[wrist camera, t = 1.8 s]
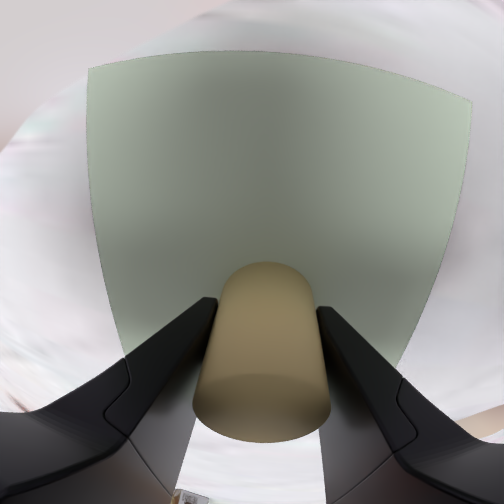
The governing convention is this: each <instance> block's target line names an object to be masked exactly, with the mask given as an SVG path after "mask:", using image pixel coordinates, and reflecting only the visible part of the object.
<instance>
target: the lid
mask: <svg viewBox="0 0 504 504" xmlns="http://www.w3.org/2000/svg"><path fill="white" fill-rule="evenodd" d="M471 115H472V102H471V101H469V100H467V99H465V98H462V97H460V96H458V95H455V94H453V93H450V92H448V91H445V90H443V89H440V88H438V87H435V86H432V85H430V84H427V83H424V82H421V81H418V80H415V79H412V78H409V77H405V76H402V75H399V74H395V73H392V72H388V71H384V70H381V69H377V68H373V67H368V66H364V65H360V64H355V63H350V62H345V61H340V60H334V59H328V58H321V57H314V56H307V55H298V54H289V53H277V52H260V51H205V52H188V53H176V54H166V55H158V56H150V57H144V58H137V59H131V60H126V61H120V62H115V63H111V64H106V65H102V66H97V67H93V68H89V70H88V84H87V115H86V126H87V158H88V174H89V185H90V196H91V204H92V213H93V220H94V227H95V233H96V240H97V246H98V251H99V257H100V262H101V267H102V272H103V276H104V281H105V285H106V290H107V294H108V298H109V302H110V306H111V310H112V314H113V317H114V321H115V324H116V328H117V331H118V335H119V338H120V341H121V345H122V348H123V351H124V354H125V356H126V355H127V354H128V353H130V352H131V351H132V350H134V349H135V348H136V347H138V346H139V345H140V344H142V343H143V342H144V341H146V340H147V339H148V338H150V337H151V336H152V335H154V334H155V333H156V332H158V331H159V330H160V329H161V328H163V327H164V326H165V325H167V324H168V323H169V322H171V321H172V320H173V319H175V318H176V317H177V316H179V315H180V314H181V313H183V312H184V311H185V310H187V309H188V308H189V307H190V306H192V305H193V304H194V303H196V302H197V301H198V300H200V299H201V298H202V297H213V298H217V300H218V308H217V311H216V315H215V318H214V322H213V326H212V329H211V333H210V337H209V340H208V344H207V348H206V351H205V355H204V359H203V363H202V366H201V370H200V374H199V378H198V381H197V385H196V389H195V393H194V397H193V401H192V407H193V411H194V413H195V415H196V416H197V418H198V419H199V420H200V421H201V422H202V423H203V424H204V425H205V426H207V427H208V428H210V429H211V430H213V431H215V432H217V433H219V434H221V435H224V436H226V437H229V438H233V439H236V440H241V441H246V442H255V443H275V442H283V441H289V440H293V439H297V438H300V437H303V436H305V435H308V434H310V433H312V432H313V431H315V430H317V429H318V428H319V427H321V426H322V425H323V424H324V423H325V422H326V420H327V419H328V417H329V415H330V413H331V402H330V395H329V388H328V381H327V375H326V368H325V362H324V356H323V350H322V344H321V338H320V332H319V326H318V321H317V315H316V309H317V307H318V306H331V307H332V308H334V309H335V310H336V311H337V312H338V313H339V314H340V315H341V316H342V317H343V318H344V319H345V320H346V321H347V322H348V323H349V324H350V325H351V326H352V327H353V328H354V329H355V330H356V331H357V332H358V333H359V334H360V335H361V336H363V337H364V338H365V339H366V340H367V341H368V342H369V343H370V344H371V345H372V346H373V347H374V348H375V349H376V350H377V351H378V352H379V353H380V354H381V355H382V356H383V357H384V358H385V359H386V360H387V361H388V362H389V363H390V364H391V365H392V366H393V367H394V368H396V366H397V364H398V362H399V360H400V358H401V356H402V354H403V352H404V350H405V349H406V347H407V344H408V342H409V340H410V338H411V336H412V334H413V332H414V330H415V328H416V326H417V323H418V321H419V319H420V317H421V314H422V312H423V310H424V307H425V305H426V302H427V300H428V297H429V295H430V292H431V290H432V287H433V285H434V282H435V279H436V276H437V274H438V271H439V268H440V265H441V262H442V259H443V256H444V253H445V250H446V246H447V243H448V240H449V236H450V233H451V229H452V226H453V222H454V218H455V214H456V210H457V206H458V202H459V197H460V192H461V188H462V183H463V177H464V172H465V166H466V160H467V153H468V145H469V137H470V127H471Z"/></svg>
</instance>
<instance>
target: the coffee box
mask: <svg viewBox="0 0 504 504" xmlns="http://www.w3.org/2000/svg"><path fill="white" fill-rule="evenodd" d="M170 504H208V498H207V497H203V496H200V495H197V494H194V493H191V492H188V491H185V490H182V489H178V490H174V493H173V496H172V500H171V503H170Z"/></svg>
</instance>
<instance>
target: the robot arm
mask: <svg viewBox="0 0 504 504" xmlns="http://www.w3.org/2000/svg"><path fill="white" fill-rule="evenodd" d="M217 308H218V300H217V298H213V297H202V298H201V299H200V300H198V301H197V302H196V303H194V304H193V305H192V306H190V307H189V308H188V309H187V310H185V311H184V312H183V313H181V314H180V315H179V316H177V317H176V318H175V319H173V320H172V321H171V322H169V323H168V324H167V325H165V326H164V327H163V328H161V329H160V330H159V331H158V332H156V333H155V334H154V335H152V336H151V337H150V338H148V339H147V340H146V341H144V342H143V343H142V344H140V345H139V346H138V347H136V348H135V349H134V350H132V351H131V352H130V353H128V354H127V355H126V356H125V358H122V359H120V360H119V361H118V362H116V363H115V364H114V365H112V366H111V367H109V368H108V369H106V370H105V371H104V372H102V373H101V374H99V375H98V376H96V377H95V378H93V379H91V380H90V381H88V382H87V383H85V384H83V385H82V386H80V387H78V388H77V389H75V390H73V391H71V392H70V393H68V394H66V395H65V396H63V397H61V398H59V399H58V400H56V401H54V402H52V403H51V404H49V405H47V406H45V407H43V408H41V409H38V410H35V411H31V412H25V413H13V412H0V504H170V503H171V500H172V496H173V493H174V489H175V486H176V483H177V480H178V476H179V473H180V470H181V466H182V463H183V460H184V456H185V453H186V450H187V447H188V443H189V440H190V437H191V433H192V430H193V427H194V424H195V420H196V417H197V416H196V415H195V413H194V411H193V407H192V401H193V397H194V393H195V389H196V385H197V381H198V378H199V374H200V370H201V366H202V363H203V359H204V355H205V351H206V348H207V344H208V340H209V337H210V333H211V329H212V326H213V322H214V318H215V315H216V311H217ZM316 315H317V321H318V326H319V332H320V338H321V344H322V350H323V356H324V362H325V368H326V375H327V381H328V388H329V395H330V402H331V413H330V415H329V417H328V419H327V420H326V422H325V423H324V424H323V425H322V426H321V427H319V436H320V444H321V453H322V462H323V472H324V482H325V493H326V504H504V444H496V443H488V442H484V441H481V440H479V439H477V438H475V437H473V436H472V435H470V434H469V433H467V432H466V431H465V430H464V429H463V428H461V427H460V426H459V425H458V424H456V423H455V422H454V421H453V420H452V419H450V418H449V417H448V416H447V415H445V414H444V413H443V412H442V411H440V410H439V409H438V408H437V407H436V406H435V405H433V404H432V403H431V402H430V401H429V400H427V399H426V398H425V397H424V396H423V395H422V394H421V393H420V392H419V391H418V390H417V389H416V388H415V387H414V386H412V385H411V384H410V383H409V382H408V381H407V380H406V379H405V378H403V376H402V375H401V374H400V373H399V372H398V371H397V370H396V369H395V368H394V367H393V366H392V365H391V364H390V363H389V362H388V361H387V360H386V359H385V358H384V357H383V356H382V355H381V354H380V353H379V352H378V351H377V350H376V349H375V348H374V347H373V346H372V345H371V344H370V343H369V342H368V341H367V340H366V339H365V338H364V337H363V336H361V335H360V334H359V333H358V332H357V331H356V330H355V329H354V328H353V327H352V326H351V325H350V324H349V323H348V322H347V321H346V320H345V319H344V318H343V317H342V316H341V315H340V314H339V313H338V312H337V311H336V310H335V309H334V308H332V307H331V306H318V307H317V309H316Z"/></svg>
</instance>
